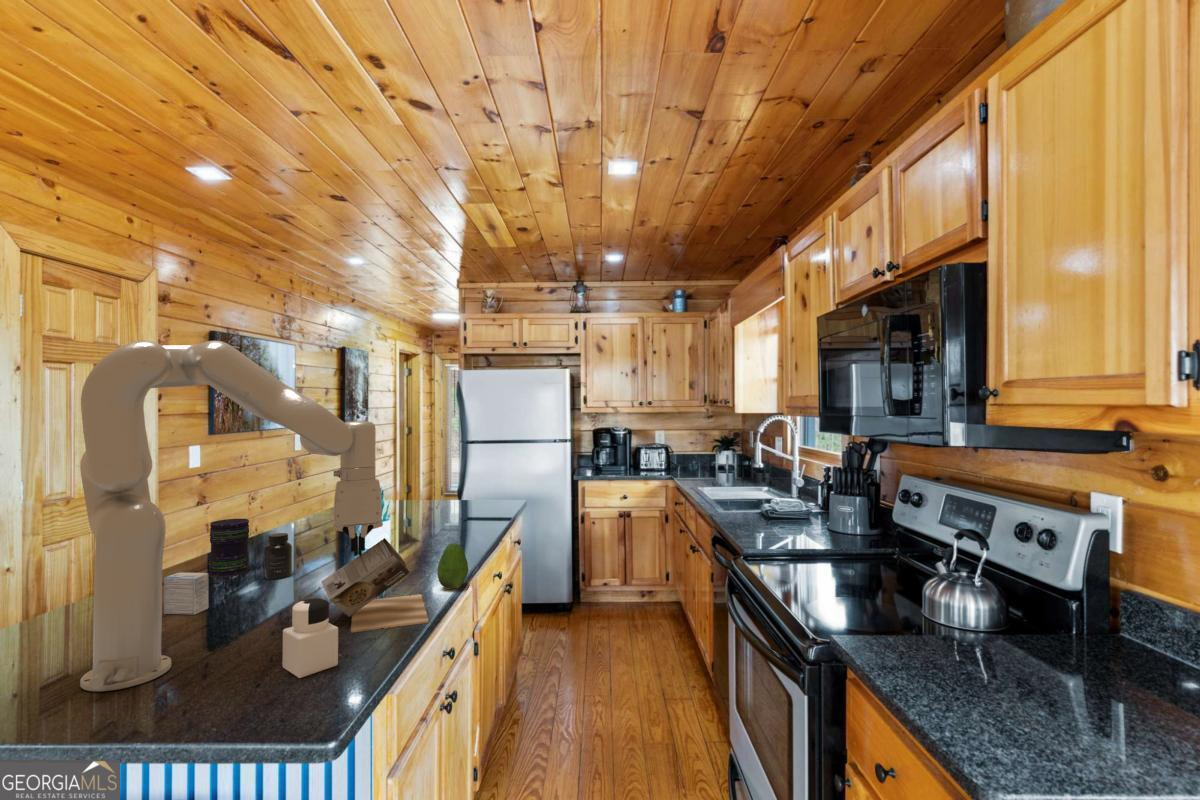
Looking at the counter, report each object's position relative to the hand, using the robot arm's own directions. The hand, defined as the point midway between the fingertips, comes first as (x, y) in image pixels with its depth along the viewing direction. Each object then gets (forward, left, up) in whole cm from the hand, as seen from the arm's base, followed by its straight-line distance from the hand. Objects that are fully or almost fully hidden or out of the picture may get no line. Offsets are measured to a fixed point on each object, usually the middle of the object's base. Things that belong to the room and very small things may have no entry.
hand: (358, 554), depth 133 cm
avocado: (+14, -23, -15) cm, 31 cm away
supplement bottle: (+44, +22, -15) cm, 51 cm away
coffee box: (0, +5, -10) cm, 11 cm away
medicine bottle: (-25, +8, -15) cm, 30 cm away
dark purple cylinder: (+54, +36, -15) cm, 66 cm away
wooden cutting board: (0, -7, -14) cm, 16 cm away
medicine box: (+19, +38, -15) cm, 45 cm away
